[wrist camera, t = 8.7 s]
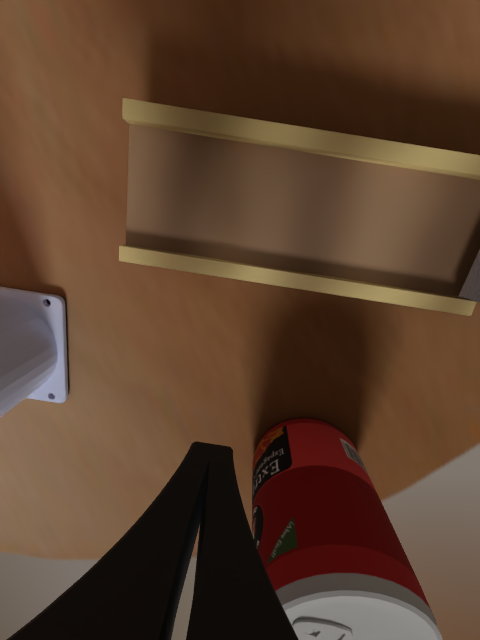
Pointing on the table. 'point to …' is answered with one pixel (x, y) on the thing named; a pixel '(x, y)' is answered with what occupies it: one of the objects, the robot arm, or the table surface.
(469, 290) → the grey block with knob
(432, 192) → the wooden channel tray
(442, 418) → the table surface
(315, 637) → the canned food
